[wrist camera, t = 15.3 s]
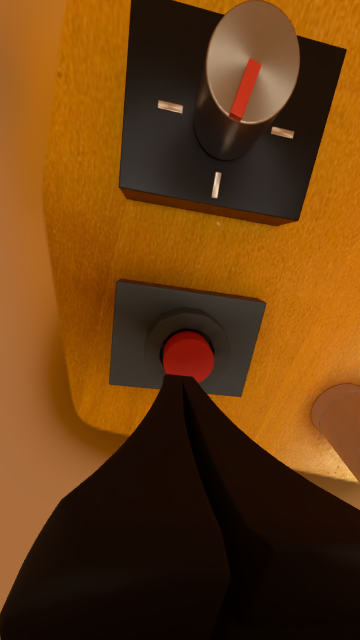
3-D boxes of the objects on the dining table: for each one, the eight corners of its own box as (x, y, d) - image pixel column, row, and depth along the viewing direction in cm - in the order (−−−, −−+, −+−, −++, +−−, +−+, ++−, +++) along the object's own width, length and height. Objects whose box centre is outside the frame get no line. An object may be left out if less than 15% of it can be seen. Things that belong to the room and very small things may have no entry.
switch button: (160, 370, 17) (160, 382, 16) (166, 327, 16) (167, 336, 15) (204, 374, 18) (209, 387, 16) (213, 333, 17) (218, 342, 15)
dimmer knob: (209, 63, 12) (231, -35, 8) (272, 97, 13) (323, 23, 9) (184, 143, 13) (192, 94, 9) (243, 171, 14) (276, 137, 10)
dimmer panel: (126, 198, 16) (117, 186, 13) (138, 42, 14) (131, -16, 11) (277, 226, 18) (300, 220, 15) (313, 87, 15) (349, 46, 12)
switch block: (113, 374, 21) (103, 397, 17) (120, 278, 18) (110, 284, 15) (235, 386, 22) (248, 410, 19) (258, 298, 19) (277, 308, 16)
